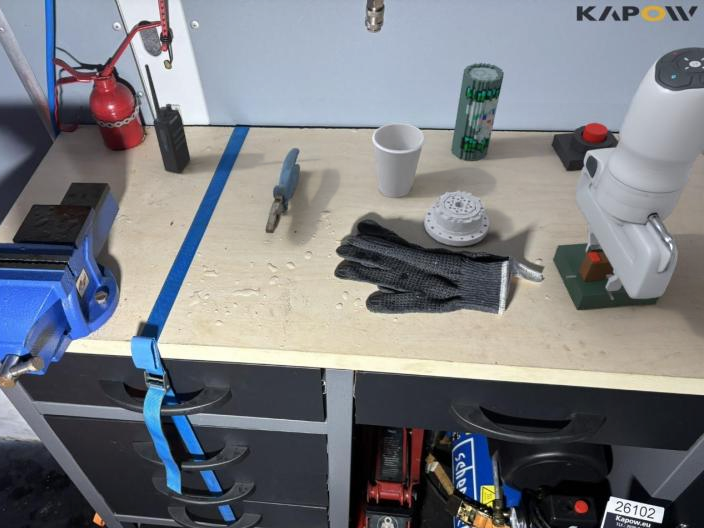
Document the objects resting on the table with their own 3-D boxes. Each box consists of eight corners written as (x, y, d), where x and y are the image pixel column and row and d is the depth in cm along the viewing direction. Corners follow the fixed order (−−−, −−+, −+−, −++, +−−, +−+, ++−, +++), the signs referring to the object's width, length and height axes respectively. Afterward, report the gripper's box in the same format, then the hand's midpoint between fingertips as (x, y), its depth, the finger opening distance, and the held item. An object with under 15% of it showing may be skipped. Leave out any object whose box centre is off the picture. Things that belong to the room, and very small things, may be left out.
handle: (614, 268, 84) (623, 248, 81) (620, 278, 83) (629, 259, 80) (578, 271, 84) (586, 251, 81) (583, 281, 83) (592, 262, 80)
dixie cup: (426, 198, 101) (433, 147, 93) (378, 206, 100) (381, 155, 93) (410, 169, 106) (415, 119, 99) (364, 177, 106) (366, 126, 98)
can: (467, 164, 107) (481, 85, 95) (445, 148, 110) (456, 70, 99) (493, 153, 108) (510, 74, 97) (471, 137, 112) (485, 59, 101)
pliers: (277, 247, 95) (273, 219, 90) (263, 246, 95) (260, 217, 90) (303, 171, 107) (301, 143, 103) (291, 170, 108) (289, 142, 103)
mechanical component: (432, 201, 100) (416, 239, 94) (435, 179, 97) (419, 217, 91) (493, 213, 98) (481, 254, 92) (498, 191, 94) (486, 232, 88)
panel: (625, 254, 90) (633, 238, 88) (659, 310, 83) (668, 294, 80) (545, 260, 90) (550, 244, 88) (571, 316, 83) (578, 301, 80)
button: (599, 131, 105) (602, 122, 104) (607, 142, 103) (611, 133, 102) (579, 132, 105) (582, 123, 104) (586, 144, 103) (590, 135, 101)
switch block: (606, 140, 109) (613, 121, 106) (624, 166, 104) (632, 147, 101) (551, 144, 109) (557, 125, 106) (566, 171, 104) (573, 151, 101)
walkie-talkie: (180, 175, 109) (154, 69, 94) (164, 171, 109) (136, 66, 95) (193, 160, 111) (170, 55, 97) (177, 156, 112) (152, 52, 97)
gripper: (707, 246, 66) (658, 327, 76) (629, 140, 79) (596, 220, 89) (650, 251, 65) (608, 331, 76) (581, 144, 79) (553, 224, 89)
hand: (601, 270), depth 83 cm, fingers open, 5 cm apart
